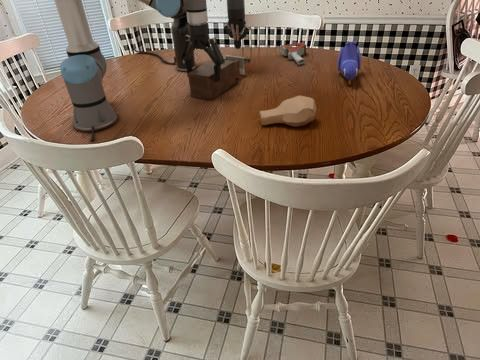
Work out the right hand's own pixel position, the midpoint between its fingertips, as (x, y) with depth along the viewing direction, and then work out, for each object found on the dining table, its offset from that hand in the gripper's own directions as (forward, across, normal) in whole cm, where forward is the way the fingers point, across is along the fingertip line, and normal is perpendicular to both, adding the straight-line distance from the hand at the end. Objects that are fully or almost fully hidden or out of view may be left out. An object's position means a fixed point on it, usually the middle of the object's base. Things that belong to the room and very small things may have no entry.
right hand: (238, 48), depth 162 cm
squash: (+12, -42, +38) cm, 57 cm away
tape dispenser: (+12, -15, -29) cm, 35 cm away
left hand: (+4, 0, +28) cm, 29 cm away
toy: (+12, -48, -11) cm, 51 cm away
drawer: (+10, 0, +9) cm, 14 cm away
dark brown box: (+12, 0, +22) cm, 25 cm away
